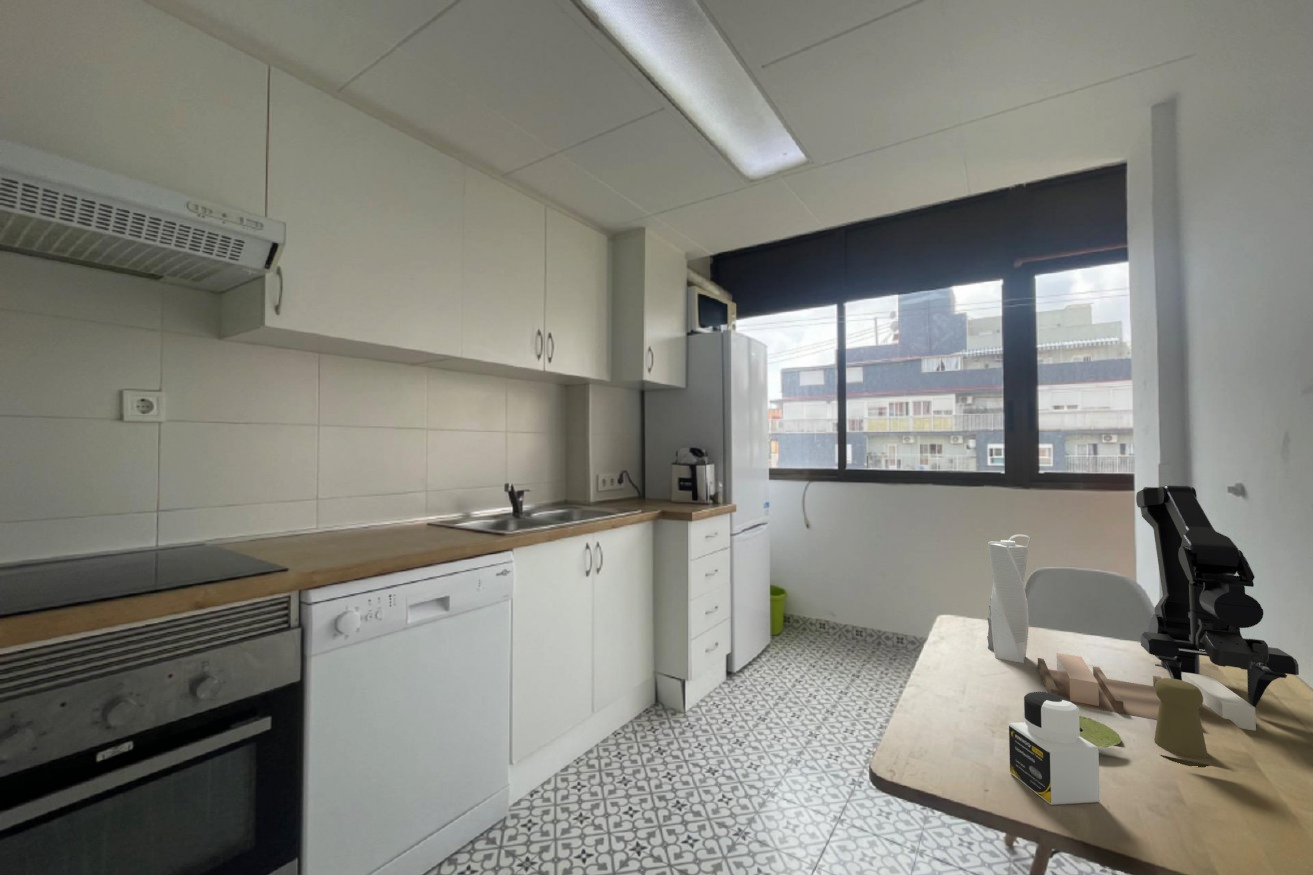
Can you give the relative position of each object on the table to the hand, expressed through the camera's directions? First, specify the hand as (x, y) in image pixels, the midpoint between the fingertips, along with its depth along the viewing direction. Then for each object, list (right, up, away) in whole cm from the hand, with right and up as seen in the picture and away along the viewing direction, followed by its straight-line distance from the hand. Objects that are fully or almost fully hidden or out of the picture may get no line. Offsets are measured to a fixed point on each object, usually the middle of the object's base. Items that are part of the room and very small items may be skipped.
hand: (1215, 700), depth 94 cm
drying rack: (-16, -2, +3) cm, 17 cm away
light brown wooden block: (-20, -1, +6) cm, 21 cm away
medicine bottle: (-46, -1, -22) cm, 51 cm away
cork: (-21, -1, -15) cm, 26 cm away
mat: (-33, -1, -10) cm, 35 cm away
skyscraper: (-22, -3, +22) cm, 31 cm away
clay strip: (0, -2, 0) cm, 2 cm away
